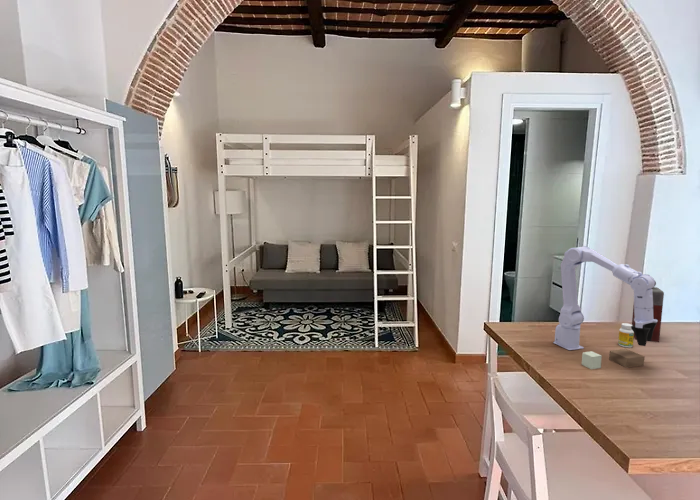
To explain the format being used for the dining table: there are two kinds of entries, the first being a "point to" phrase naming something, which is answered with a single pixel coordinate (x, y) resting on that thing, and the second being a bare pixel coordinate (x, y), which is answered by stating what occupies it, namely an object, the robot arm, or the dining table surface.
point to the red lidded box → (655, 312)
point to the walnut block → (626, 358)
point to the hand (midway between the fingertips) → (644, 343)
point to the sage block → (591, 360)
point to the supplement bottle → (626, 336)
